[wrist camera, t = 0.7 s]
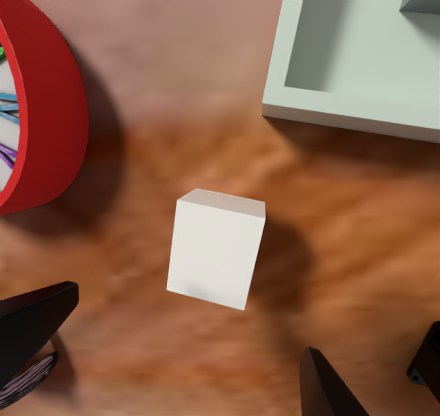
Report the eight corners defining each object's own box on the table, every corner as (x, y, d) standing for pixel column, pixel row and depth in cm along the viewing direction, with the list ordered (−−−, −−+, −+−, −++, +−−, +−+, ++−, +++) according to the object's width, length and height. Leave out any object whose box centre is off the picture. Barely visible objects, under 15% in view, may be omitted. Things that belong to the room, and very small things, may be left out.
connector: (264, 193, 19) (265, 218, 12) (249, 255, 21) (243, 310, 14) (207, 181, 20) (177, 199, 13) (198, 243, 21) (166, 289, 14)
